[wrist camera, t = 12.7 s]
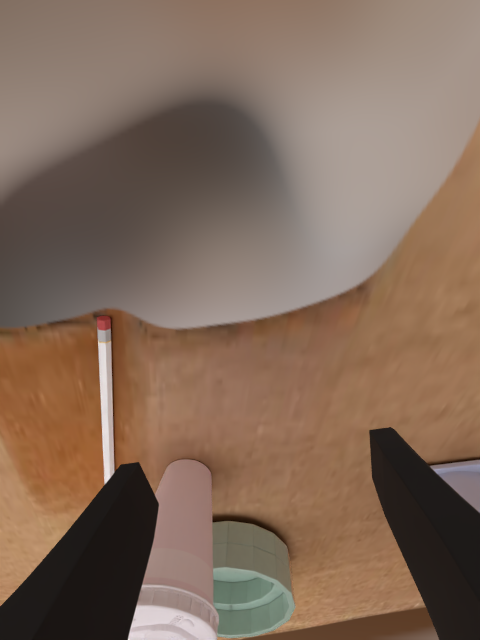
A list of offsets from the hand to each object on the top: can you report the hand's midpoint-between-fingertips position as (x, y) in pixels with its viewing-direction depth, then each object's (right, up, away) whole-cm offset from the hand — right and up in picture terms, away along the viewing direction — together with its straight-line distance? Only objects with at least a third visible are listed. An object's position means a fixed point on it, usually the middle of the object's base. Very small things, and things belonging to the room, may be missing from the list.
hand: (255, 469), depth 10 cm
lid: (-1, -17, +19) cm, 26 cm away
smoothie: (-5, -7, +15) cm, 18 cm away
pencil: (-10, -3, +14) cm, 17 cm away
